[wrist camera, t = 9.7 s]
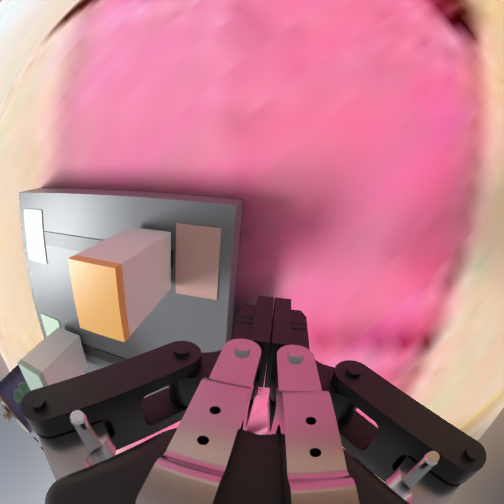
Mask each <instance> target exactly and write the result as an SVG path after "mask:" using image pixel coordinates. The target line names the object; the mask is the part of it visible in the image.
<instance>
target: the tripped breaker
mask: <svg viewBox="0 0 504 504" xmlns="http://www.w3.org/2000/svg"><path fill="white" fill-rule="evenodd" d="M68 263H69V271H70V278H71V284H72V290H73V296H74V301H75V306H76V311H77V316H78V320H79V325H80V328H82V329H85V330H88V331H91V332H94V333H97V334H100V335H103V336H106V337H109V338H112V339H115V340H119V341H122V342H125V341H126V340H127V339H128V338H129V337H130V335H131V334H132V333H133V332H134V331H135V329H136V328H137V327H138V326H139V325H140V324H141V322H142V321H143V320H144V319H145V318H146V317H147V315H148V314H149V313H150V312H151V311H152V310H153V308H154V307H155V306H156V305H157V304H158V303H159V302H160V300H161V299H162V298H163V297H164V296H165V295H166V294H167V292H168V291H169V290H170V289H171V232H167V231H159V230H150V229H142V228H134V227H131V228H129V229H126V230H124V231H122V232H120V233H118V234H116V235H114V236H112V237H110V238H108V239H106V240H103V241H101V242H99V243H97V244H95V245H93V246H91V247H89V248H87V249H86V250H84V251H82V252H80V253H78V254H76V255H74V256H72V257H70V258H68Z"/></svg>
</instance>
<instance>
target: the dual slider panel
mask: <svg viewBox="0 0 504 504" xmlns="http://www.w3.org/2000/svg"><path fill="white" fill-rule="evenodd" d="M19 200H20V216H21V228H22V237H23V245H24V253H25V259H26V265H27V271H28V276H29V281H30V286H31V291H32V295H33V299H34V303H35V307H36V311H37V315H38V319H39V322H40V326H41V329H42V332H43V336H44V339H45V338H46V337H47V336H49V335H50V334H51V333H52V332H53V331H54V330H56V329H57V328H58V327H59V328H61V329H64V330H66V331H69V332H72V333H74V334H77V335H79V336H80V340H81V343H82V347H83V351H84V354H85V358H86V361H87V364H88V368H87V369H86V370H85V371H84V372H83V373H85V374H86V373H89V372H92V371H95V370H98V369H101V368H104V367H107V366H109V365H112V364H115V363H118V362H121V361H124V360H126V359H129V358H132V357H135V356H137V355H140V354H143V353H145V352H148V351H151V350H153V349H156V348H159V347H161V346H164V345H166V344H169V343H171V342H175V341H189V342H192V343H194V344H196V345H197V346H198V347H199V348H200V350H201V353H204V352H216V351H219V350H222V349H223V346H224V345H225V344H226V343H227V342H228V341H230V340H231V336H232V326H233V314H234V302H235V290H236V278H237V267H238V255H239V244H240V233H241V223H242V212H243V201H244V200H241V199H231V198H222V197H211V196H201V195H189V194H177V193H163V192H148V191H131V190H111V189H82V188H37V189H33V190H28V191H24V192H19ZM131 227H134V228H142V229H150V230H159V231H167V232H171V289H170V290H169V291H168V292H167V294H166V295H165V296H164V297H163V298H162V299H161V300H160V302H159V303H158V304H157V305H156V306H155V307H154V308H153V310H152V311H151V312H150V313H149V314H148V315H147V317H146V318H145V319H144V320H143V321H142V322H141V324H140V325H139V326H138V327H137V328H136V329H135V331H134V332H133V333H132V334H131V335H130V337H129V338H128V339H127V340H126V341H125V342H122V341H119V340H115V339H112V338H109V337H106V336H103V335H100V334H97V333H94V332H91V331H88V330H85V329H82V328H80V325H79V320H78V316H77V311H76V306H75V301H74V296H73V290H72V284H71V278H70V271H69V263H68V258H70V257H72V256H74V255H76V254H78V253H80V252H82V251H84V250H86V249H87V248H89V247H91V246H93V245H95V244H97V243H99V242H101V241H103V240H106V239H108V238H110V237H112V236H114V235H116V234H118V233H120V232H122V231H124V230H126V229H129V228H131ZM166 388H168V386H166V387H164V388H162V389H160V390H157V391H155V392H153V393H151V394H148V395H146V396H150V395H152V394H155V393H157V392H159V391H161V390H164V389H166Z"/></svg>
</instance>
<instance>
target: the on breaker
mask: <svg viewBox="0 0 504 504" xmlns="http://www.w3.org/2000/svg"><path fill="white" fill-rule="evenodd" d="M18 365H19V367H20V369H21V372H22V374H23V376H24V378H25V380H26V382H27V384H28V386H29V388H30V390H31V391H32V390H34V389H38V388H41V387H45V386H48V385H51V384H55V383H58V382H61V381H64V380H67V379H71V378H74V377H77V376H80V375H82V373H83V372H84V371H85V370H86V369H87V368H88V364H87V361H86V358H85V354H84V351H83V347H82V343H81V340H80V336H79V335H77V334H74V333H72V332H69V331H66V330H64V329H61V328H59V327H58V328H57V329H56V330H54V331H53V332H52V333H51V334H50V335H49V336H47V337H46V338H45V339H44V340H43V341H42V342H40V343H39V344H38V345H37V346H36V347H35V348H34V349H32V350H31V351H30V352H29V353H28V354H27V355H26V356H25V357H24V358H22V359H21V360H20V361H19V362H18Z"/></svg>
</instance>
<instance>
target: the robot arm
mask: <svg viewBox="0 0 504 504" xmlns="http://www.w3.org/2000/svg"><path fill="white" fill-rule="evenodd" d="M273 303H274V310H273ZM272 314H273V317H272ZM267 358H268V359H267ZM266 364H267V369H266ZM265 371H266V378H265V387H269V388H270V392H269V398H268V435H257V434H254V433H251V432H248V431H247V427H248V424H249V420H250V416H251V412H252V408H253V405H254V400H255V397H256V395H257V392H258V386H259V387H263V383H264V377H265ZM166 386H168V388H166V389H164V390H161V391H159V392H157V393H155V394H152V395H150V396H148V397H145V396H146V395H148V394H151V393H153V392H155V391H157V390H160V389H162V388H164V387H166ZM144 397H145V398H144ZM357 408H359V409H360V410H361V411H362V412H364V413H365V414H366V415H367V416H369V417H370V418H371V419H372V420H374V421H375V422H376V423H377V425H378V428H377V427H375V426H374V425H373V424H372V423H370V422H369V421H368V420H366V419H365V418H364V417H363V416H361V415H360V414H359V413H358V412H357V411H356V409H357ZM21 411H22V413H23V415H24V416H25V418H26V419H27V421H28V422H29V424H30V425H31V427H32V429H33V431H34V432H35V434H36V435H37V436H38V438H39V439H40V441H41V444H42V447H43V450H44V452H45V455H46V457H47V460H48V462H49V465H50V467H51V470H52V472H53V474H54V477H55V479H56V482H55V483H53V485H52V486H51V487H50V489H49V490H48V492H47V495H46V498H45V504H447V503H448V502H449V501H450V499H451V498H452V496H453V495H454V493H455V492H456V490H457V489H458V487H460V486H461V485H462V484H463V483H465V482H466V481H467V480H468V479H469V478H470V477H471V476H473V475H474V474H475V473H476V472H477V471H478V470H480V469H481V468H482V467H483V465H484V463H485V461H486V452H485V449H484V447H483V446H482V445H481V444H480V443H479V442H478V441H476V440H475V439H473V438H472V437H470V436H468V435H467V434H465V433H464V432H462V431H461V430H459V429H458V428H456V427H455V426H453V425H452V424H450V423H448V422H447V421H445V420H444V419H442V418H441V417H439V416H438V415H436V414H435V413H433V412H432V411H430V410H429V409H427V408H426V407H424V406H423V405H422V404H420V403H419V402H417V401H416V400H414V399H413V398H411V397H410V396H408V395H407V394H405V393H404V392H402V391H401V390H400V389H398V388H397V387H395V386H394V385H392V384H391V383H389V382H388V381H387V380H385V379H384V378H382V377H381V376H379V375H378V374H377V373H375V372H374V371H372V370H371V369H369V368H368V367H367V366H365V365H364V364H362V363H360V362H357V361H342V362H340V363H339V364H337V365H336V367H335V368H333V367H330V366H326V365H323V364H321V363H319V362H318V361H316V360H315V357H314V354H313V353H312V352H311V351H310V350H309V340H308V331H307V321H306V316H305V315H304V314H303V313H302V312H301V311H298V310H291V299H284V298H276V297H275V302H274V297H267V296H258V300H257V306H254V305H244V306H243V307H242V308H241V309H240V310H239V313H238V317H237V320H236V323H235V326H234V330H233V333H232V336H231V340H230V341H228V342H227V343H226V344H225V345H224V346H223V349H222V350H219V351H216V352H204V353H201V350H200V348H199V347H198V346H197V345H196V344H194V343H192V342H189V341H175V342H171V343H169V344H166V345H164V346H161V347H159V348H156V349H153V350H151V351H148V352H145V353H143V354H140V355H137V356H135V357H132V358H129V359H126V360H124V361H121V362H118V363H115V364H112V365H109V366H107V367H104V368H101V369H98V370H95V371H92V372H89V373H86V374H83V375H80V376H77V377H74V378H71V379H67V380H64V381H61V382H58V383H55V384H51V385H48V386H45V387H41V388H38V389H34V390H32V391H30V392H28V393H27V394H26V395H25V396H24V397H23V399H22V401H21ZM180 420H181V422H180V424H179V426H178V428H175V429H171V430H168V431H165V432H163V433H160V434H158V435H156V436H154V437H153V438H151V439H149V440H147V441H145V442H143V443H141V444H139V445H137V446H135V447H132V448H130V449H128V450H126V451H124V452H122V453H120V454H117V455H115V453H116V450H118V449H120V448H122V447H125V446H127V445H129V444H132V443H134V442H136V441H138V440H141V439H143V438H145V437H147V436H149V435H152V434H154V433H156V432H158V431H160V430H162V429H164V428H166V427H168V426H170V425H172V424H174V423H176V422H178V421H180ZM342 446H343V447H344V448H345V449H346V450H345V449H343V448H342ZM370 470H371V471H372V472H371V471H370ZM375 474H376V475H377V476H378V477H379V478H381V479H382V480H383V481H384V482H386V484H385V483H384V482H383V481H382V480H381V479H379V478H378V477H377V476H376V475H375Z"/></svg>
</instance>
